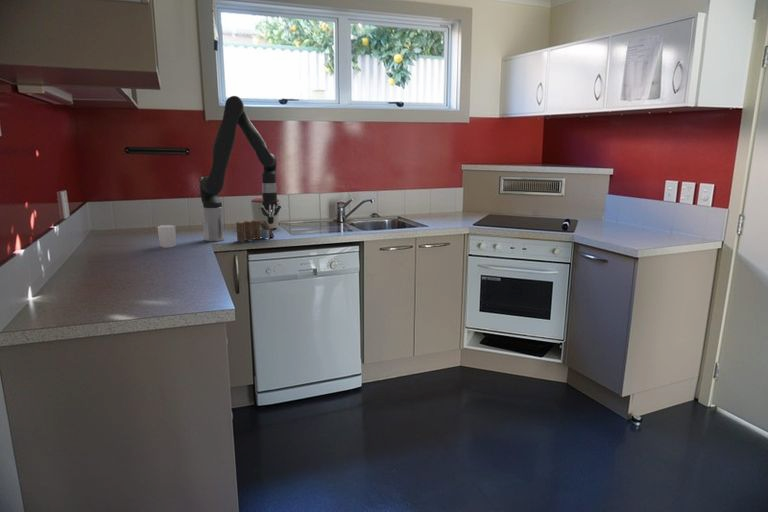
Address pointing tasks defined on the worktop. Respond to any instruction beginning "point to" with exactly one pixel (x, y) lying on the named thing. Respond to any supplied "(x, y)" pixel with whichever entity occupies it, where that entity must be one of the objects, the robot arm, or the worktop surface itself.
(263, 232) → the domino
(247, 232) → the domino
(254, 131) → the robot arm
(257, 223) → the domino
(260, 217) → the canister
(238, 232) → the domino
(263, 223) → the domino
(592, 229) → the worktop surface
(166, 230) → the white cup
